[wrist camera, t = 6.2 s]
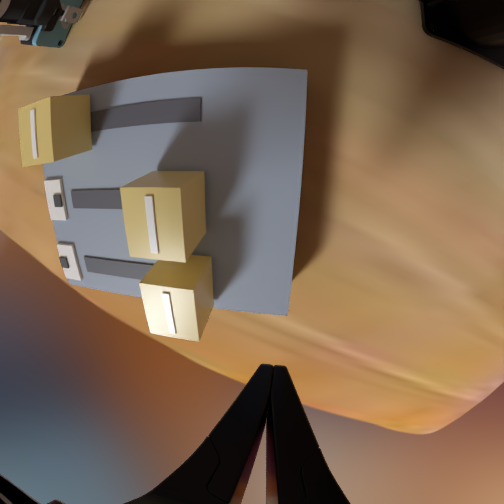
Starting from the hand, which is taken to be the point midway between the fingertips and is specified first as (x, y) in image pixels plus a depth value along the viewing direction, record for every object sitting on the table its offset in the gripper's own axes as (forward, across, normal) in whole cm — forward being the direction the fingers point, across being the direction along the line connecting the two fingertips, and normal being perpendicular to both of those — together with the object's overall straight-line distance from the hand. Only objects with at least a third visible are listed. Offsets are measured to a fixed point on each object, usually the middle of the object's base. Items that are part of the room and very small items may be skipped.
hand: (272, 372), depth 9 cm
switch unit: (+8, +7, -4) cm, 11 cm away
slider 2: (+5, +5, -4) cm, 8 cm away
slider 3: (+5, +5, 0) cm, 7 cm away
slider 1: (+5, +11, -8) cm, 14 cm away
